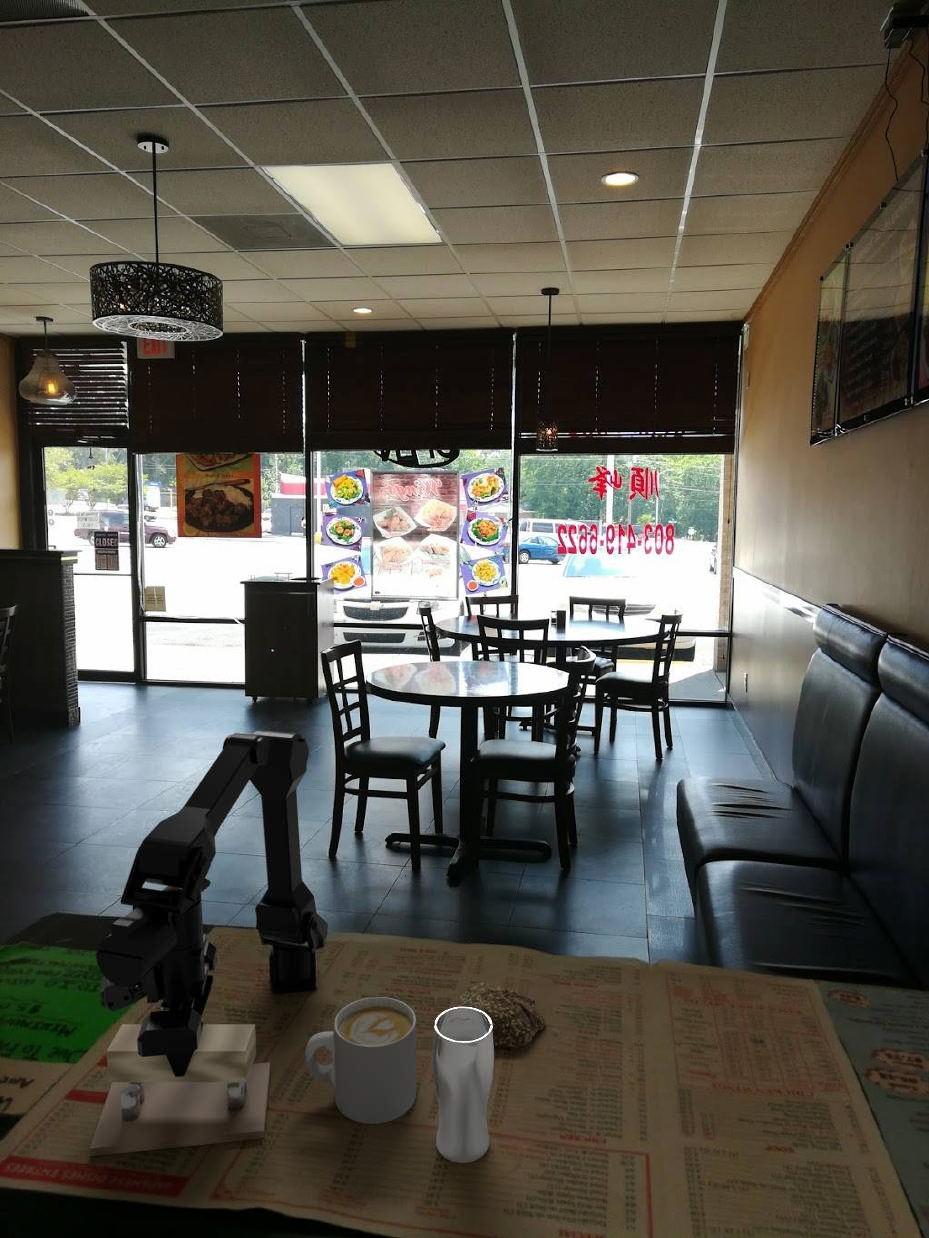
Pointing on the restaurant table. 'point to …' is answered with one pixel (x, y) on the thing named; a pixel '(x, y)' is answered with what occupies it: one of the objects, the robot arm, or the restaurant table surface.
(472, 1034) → the beer glass
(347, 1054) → the coffee mug
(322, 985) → the restaurant table surface
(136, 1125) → the peg holder
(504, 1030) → the bread roll
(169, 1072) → the pine board
